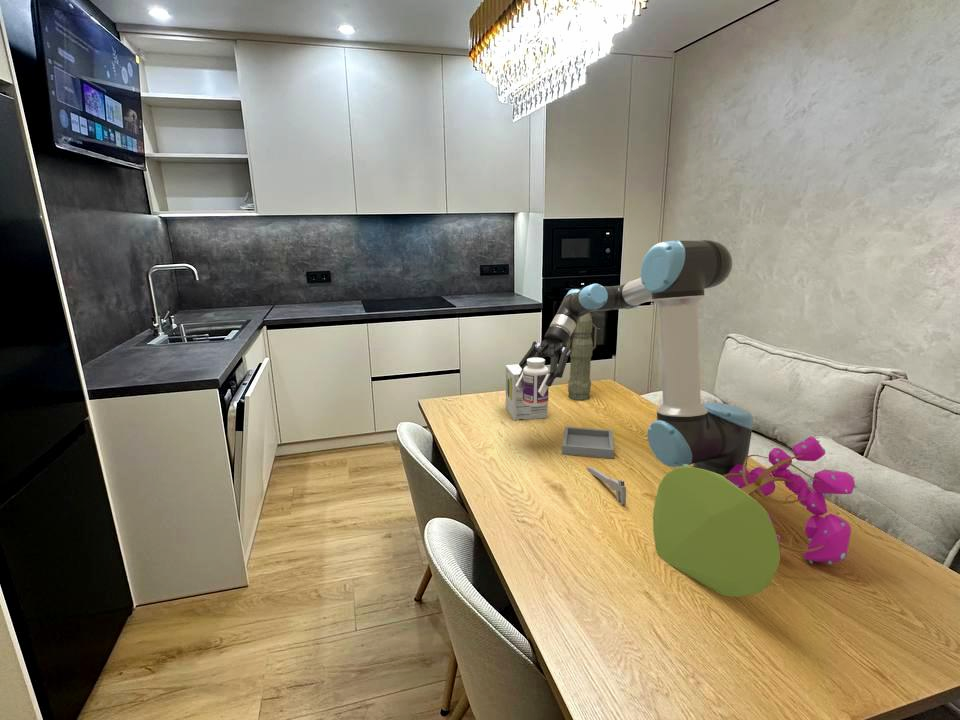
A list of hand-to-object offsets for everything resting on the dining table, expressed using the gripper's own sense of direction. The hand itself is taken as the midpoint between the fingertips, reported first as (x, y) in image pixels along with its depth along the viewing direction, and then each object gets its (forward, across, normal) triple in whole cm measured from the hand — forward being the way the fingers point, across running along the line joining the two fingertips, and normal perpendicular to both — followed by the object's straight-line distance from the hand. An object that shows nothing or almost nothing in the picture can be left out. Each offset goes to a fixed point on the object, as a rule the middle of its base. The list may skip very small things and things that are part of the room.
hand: (529, 390), depth 154 cm
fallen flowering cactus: (+21, -68, -6) cm, 71 cm away
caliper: (+18, -31, -9) cm, 37 cm away
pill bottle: (+1, 0, -6) cm, 6 cm away
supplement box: (-3, +18, -29) cm, 35 cm away
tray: (+4, -14, -22) cm, 26 cm away
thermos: (-23, +13, -50) cm, 56 cm away
